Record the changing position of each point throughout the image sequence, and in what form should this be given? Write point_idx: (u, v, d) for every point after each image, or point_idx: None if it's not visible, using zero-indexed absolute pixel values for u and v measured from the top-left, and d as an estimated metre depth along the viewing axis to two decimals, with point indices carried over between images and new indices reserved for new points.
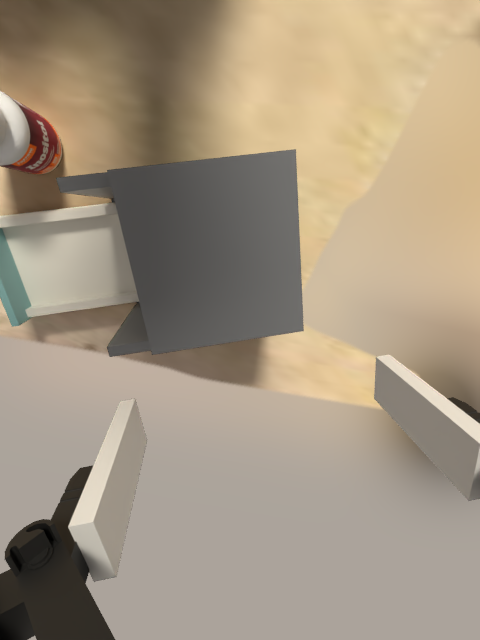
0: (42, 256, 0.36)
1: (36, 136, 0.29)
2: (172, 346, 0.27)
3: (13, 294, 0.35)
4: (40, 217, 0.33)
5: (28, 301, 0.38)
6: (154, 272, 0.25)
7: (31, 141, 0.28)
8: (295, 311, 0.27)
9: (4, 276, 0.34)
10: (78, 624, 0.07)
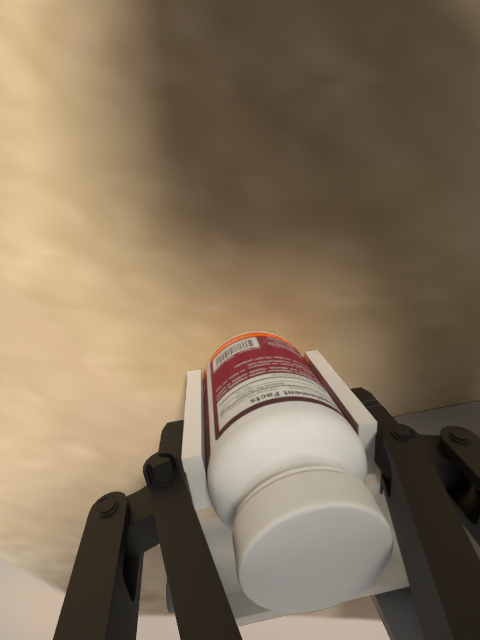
0: None
1: None
2: None
3: None
4: None
5: None
6: None
7: None
8: None
9: None
10: (189, 541, 0.09)
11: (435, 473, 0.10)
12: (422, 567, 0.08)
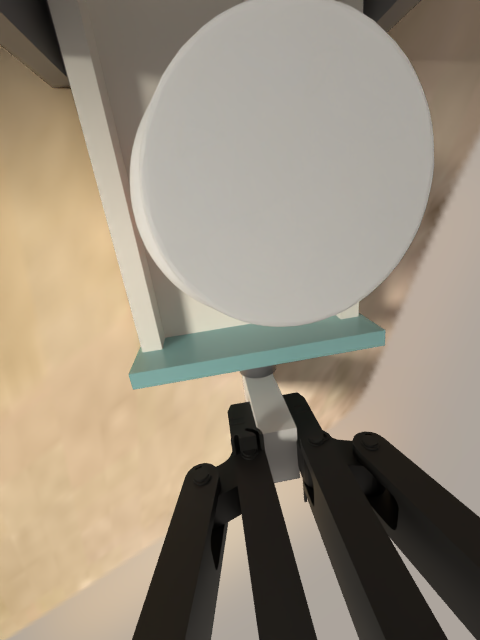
0: None
1: None
2: None
3: (306, 333, 0.15)
4: (125, 248, 0.14)
5: None
6: None
7: None
8: None
9: (265, 343, 0.15)
10: (267, 514, 0.09)
11: (350, 474, 0.10)
12: (353, 578, 0.08)
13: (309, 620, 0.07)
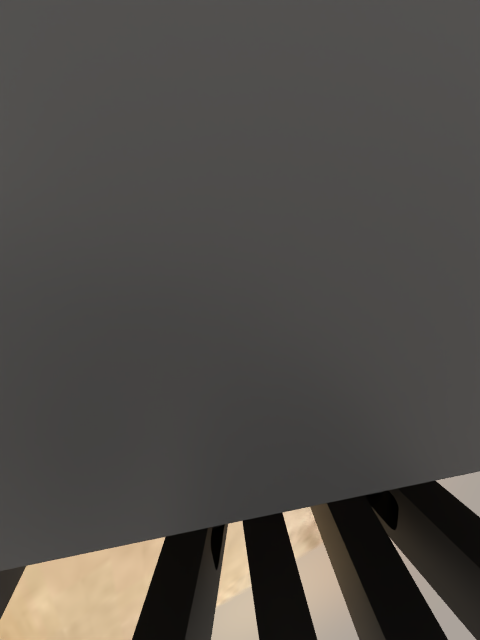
0: None
1: None
2: None
3: None
4: None
5: None
6: None
7: None
8: None
9: None
10: None
11: None
12: (353, 578, 0.08)
13: (309, 620, 0.07)
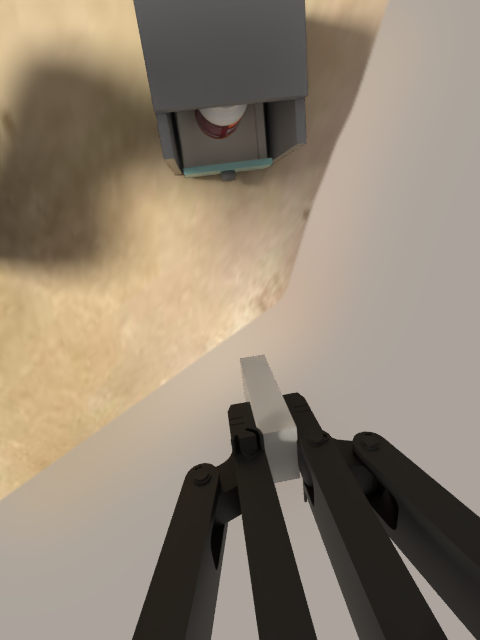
0: (215, 141, 0.42)
1: None
2: (302, 71, 0.29)
3: None
4: (182, 126, 0.40)
5: None
6: (232, 80, 0.29)
7: None
8: None
9: (230, 163, 0.41)
10: (267, 514, 0.09)
11: (350, 474, 0.10)
12: (353, 577, 0.08)
13: (309, 620, 0.07)
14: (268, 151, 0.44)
